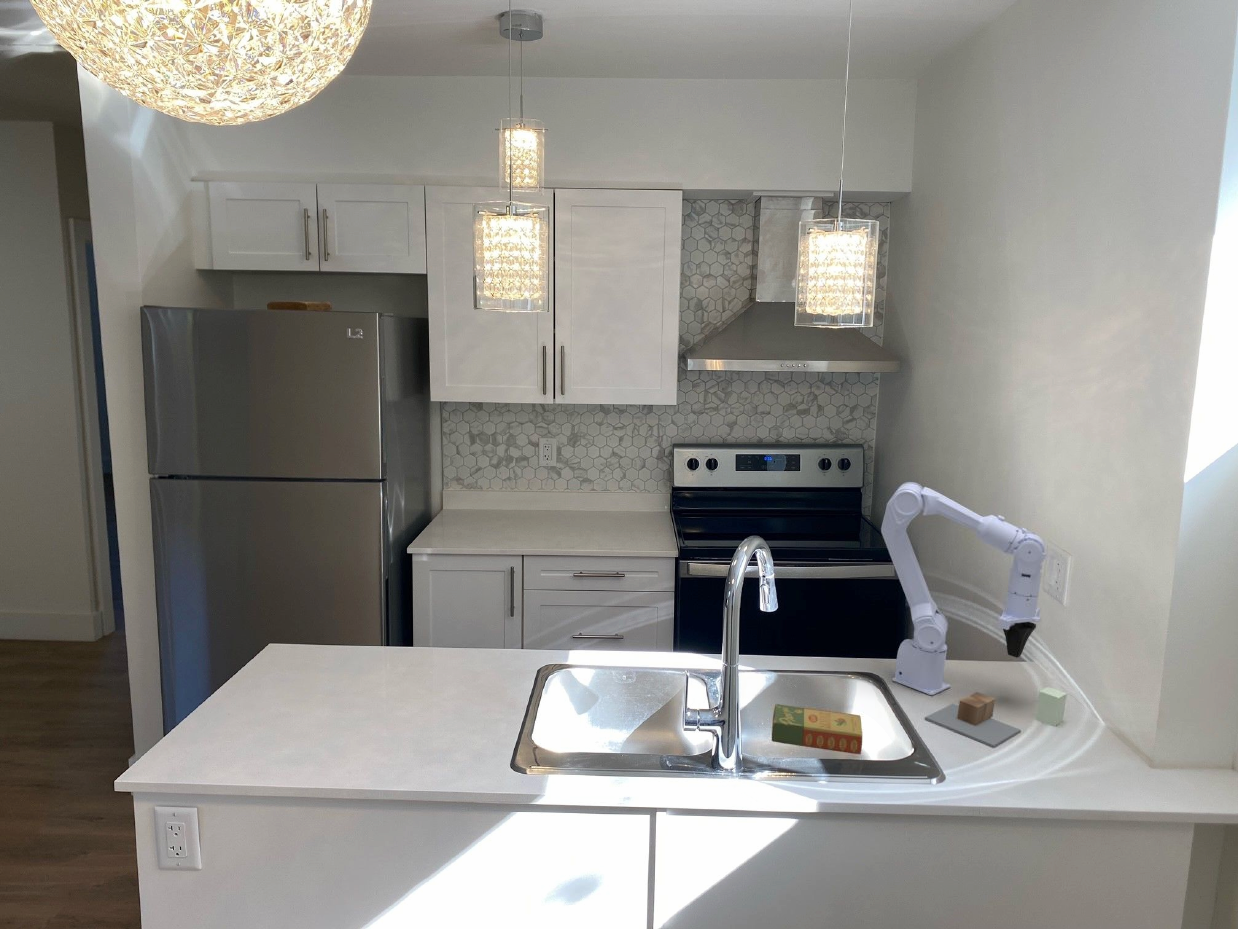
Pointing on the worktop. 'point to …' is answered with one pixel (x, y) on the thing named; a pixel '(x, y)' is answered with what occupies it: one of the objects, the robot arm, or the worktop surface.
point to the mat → (973, 727)
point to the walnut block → (976, 708)
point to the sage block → (1050, 706)
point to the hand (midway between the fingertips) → (1013, 655)
